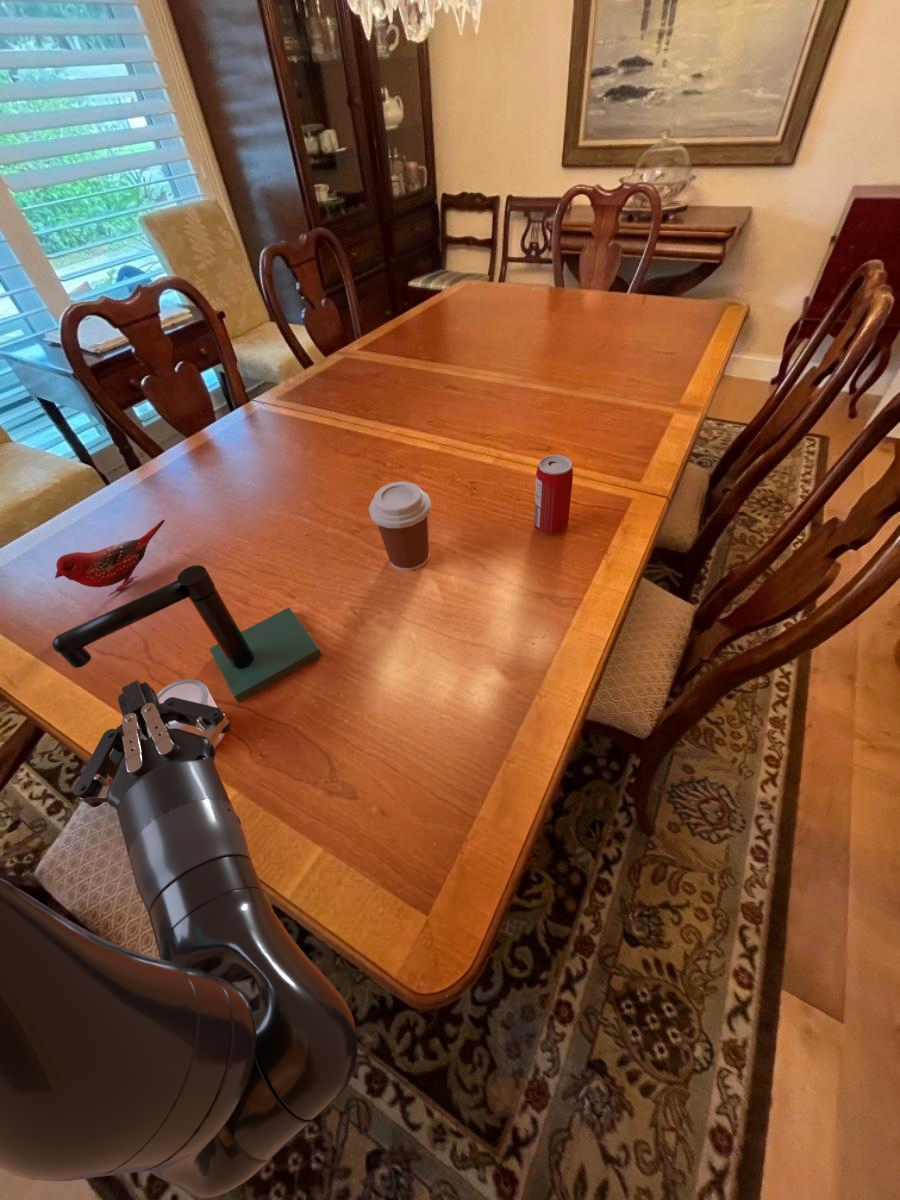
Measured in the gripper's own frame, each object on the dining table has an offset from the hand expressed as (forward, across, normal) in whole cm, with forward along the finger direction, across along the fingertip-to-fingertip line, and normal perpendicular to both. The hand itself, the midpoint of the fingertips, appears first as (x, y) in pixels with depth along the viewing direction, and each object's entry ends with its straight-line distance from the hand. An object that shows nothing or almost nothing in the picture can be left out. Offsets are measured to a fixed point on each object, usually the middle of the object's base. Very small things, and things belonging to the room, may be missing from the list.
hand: (134, 689), depth 51 cm
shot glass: (+4, -1, +16) cm, 17 cm away
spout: (+11, -3, +3) cm, 12 cm away
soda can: (+6, -60, +16) cm, 63 cm away
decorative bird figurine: (+40, -1, +16) cm, 43 cm away
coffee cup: (+15, -38, +16) cm, 44 cm away
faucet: (+11, -12, +16) cm, 23 cm away
